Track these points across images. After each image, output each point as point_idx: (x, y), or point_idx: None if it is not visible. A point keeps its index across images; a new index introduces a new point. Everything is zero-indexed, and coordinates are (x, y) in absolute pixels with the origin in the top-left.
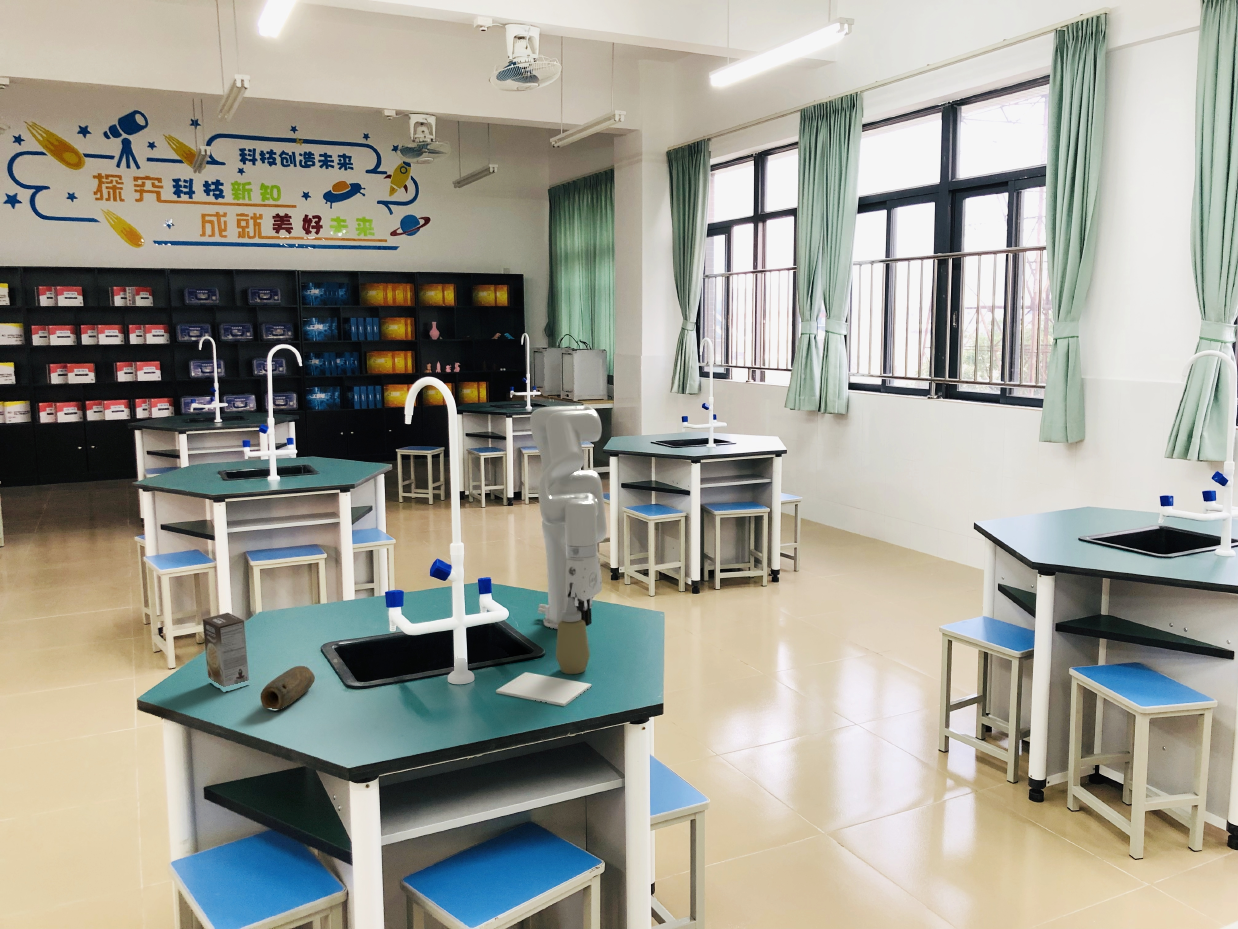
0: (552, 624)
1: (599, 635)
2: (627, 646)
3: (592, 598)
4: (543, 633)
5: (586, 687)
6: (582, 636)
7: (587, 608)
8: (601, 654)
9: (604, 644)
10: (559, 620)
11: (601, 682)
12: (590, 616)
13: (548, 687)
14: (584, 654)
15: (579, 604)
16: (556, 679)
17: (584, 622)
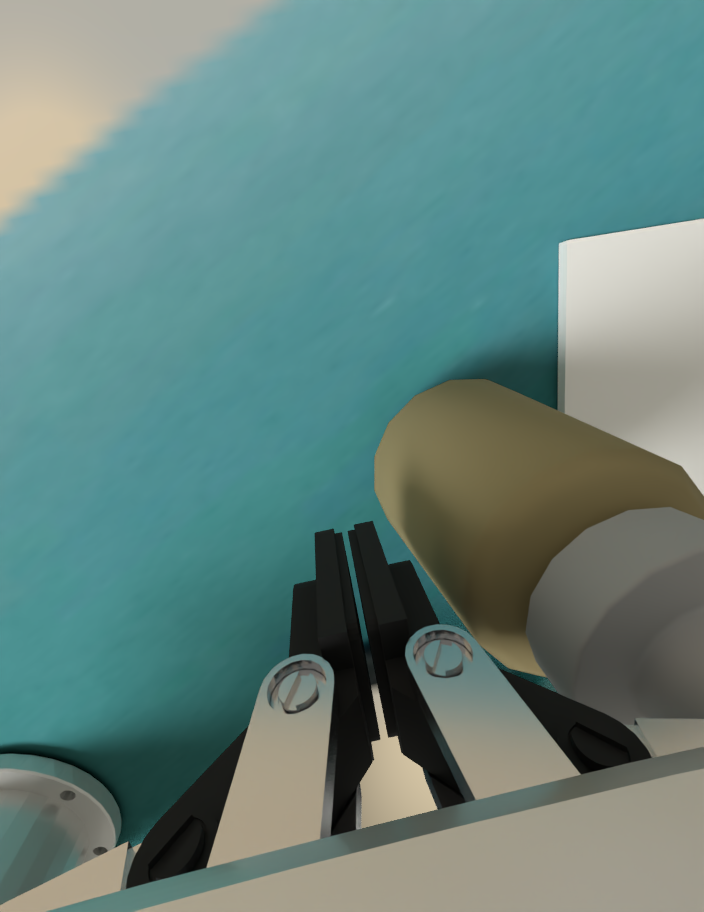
0: (107, 828)
1: (18, 639)
2: (19, 441)
3: (186, 820)
4: (180, 793)
5: (611, 235)
6: (555, 417)
7: (354, 665)
8: (202, 474)
9: (90, 548)
10: (69, 837)
11: (492, 236)
12: (336, 568)
13: (665, 389)
14: (487, 385)
15: (631, 737)
16: (580, 420)
17: (541, 485)
